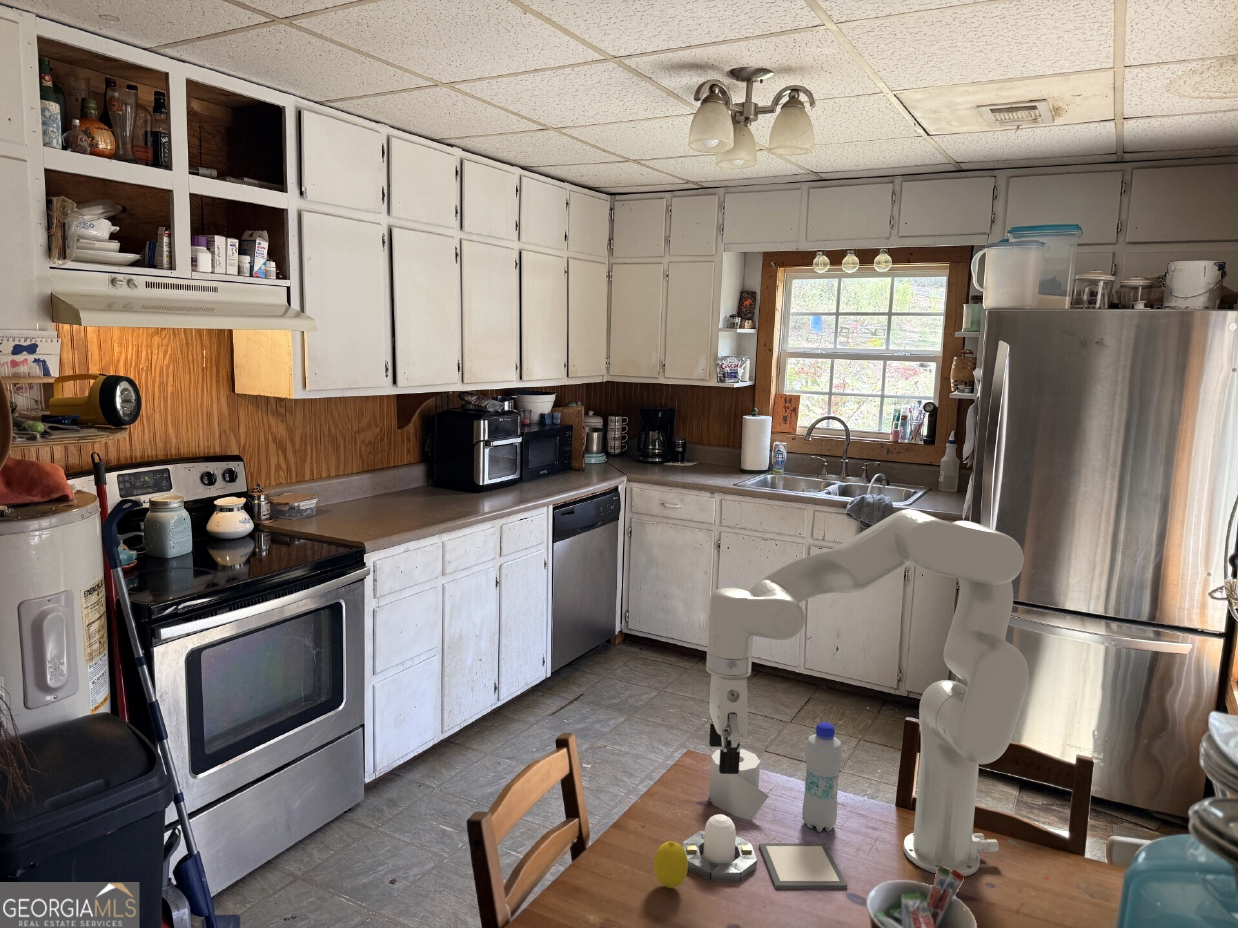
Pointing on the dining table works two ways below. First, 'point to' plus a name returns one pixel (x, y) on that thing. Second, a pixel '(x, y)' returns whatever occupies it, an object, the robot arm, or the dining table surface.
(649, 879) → the dining table surface
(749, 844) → the socket ring
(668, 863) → the lemon
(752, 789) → the toilet tissue
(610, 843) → the dining table surface
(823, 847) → the mat
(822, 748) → the bottle
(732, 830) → the capsule
